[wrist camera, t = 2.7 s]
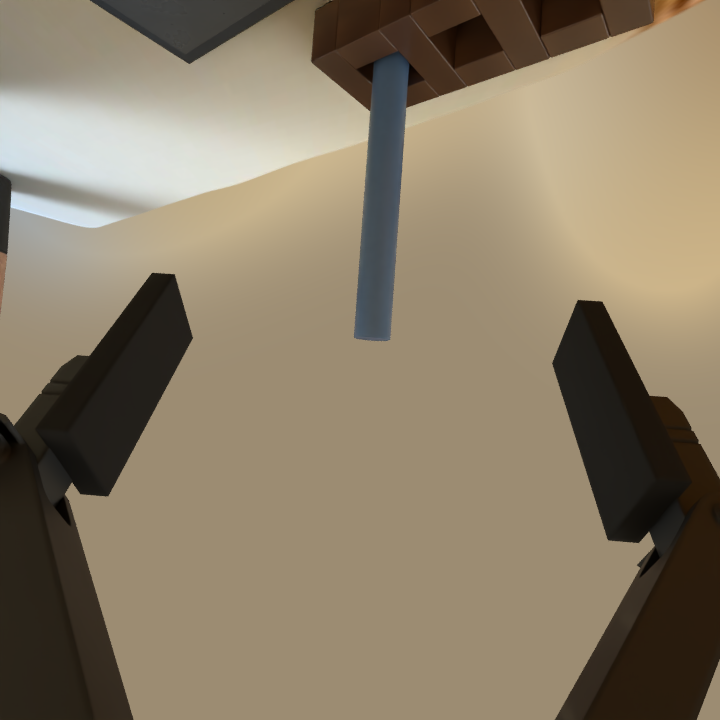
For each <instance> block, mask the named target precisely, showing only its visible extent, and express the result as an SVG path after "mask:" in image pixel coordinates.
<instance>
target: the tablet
mask: <svg viewBox="0 0 720 720" xmlns="http://www.w3.org/2000/svg"><path fill="white" fill-rule="evenodd" d="M90 1H92V2H93V3H95V4H96V5H98V6H99V7H101V8H102V9H104V10H106V11H107V12H109V13H110V14H112V15H113V16H115V17H117V18H118V19H120V20H121V21H123V22H124V23H126V24H127V25H129V26H131V27H132V28H134V29H135V30H137V31H138V32H140V33H142V34H143V35H145V36H146V37H148V38H149V39H151V40H152V41H154V42H156V43H157V44H159V45H160V46H162V47H163V48H165V49H167V50H168V51H170V52H171V53H173V54H174V55H176V56H177V57H179V58H181V59H182V60H184V61H185V62H187V63H188V64H190V63H192V62H193V61H195V60H197V59H198V58H200V57H202V56H203V55H205V54H207V53H208V52H210V51H212V50H213V49H215V48H217V47H218V46H220V45H221V44H223V43H225V42H226V41H228V40H230V39H231V38H233V37H235V36H236V35H238V34H240V33H241V32H243V31H244V30H246V29H248V28H249V27H251V26H253V25H254V24H256V23H258V22H259V21H261V20H263V19H264V18H266V17H268V16H269V15H271V14H272V13H274V12H276V11H277V10H279V9H281V8H282V7H284V6H286V5H287V4H289V3H291V2H292V1H294V0H90Z"/></svg>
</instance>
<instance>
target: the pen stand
mask: <svg viewBox="0 0 720 720" xmlns="http://www.w3.org/2000/svg"><path fill="white" fill-rule="evenodd" d="M654 6H655V0H333V1H331V2H330V3H328V4H326V5H324V6H323V7H321V8H319V9H317V10H316V11H315V20H314V33H313V46H312V58H311V62H312V63H313V64H314V65H315V66H316V67H318V68H319V69H320V70H321V71H322V72H324V73H325V74H326V75H327V76H328V77H330V78H331V79H332V80H333V81H334V82H336V83H337V84H338V85H339V86H340V87H342V88H343V89H344V90H345V91H346V92H348V93H349V94H350V95H351V96H352V97H354V98H355V99H356V100H357V101H358V102H360V103H361V104H362V105H363V106H364V107H366V108H367V109H368V110H369V111H370V109H371V95H372V82H373V68H374V61H376V60H378V59H381V58H383V57H385V56H388V55H390V54H392V53H394V52H397V51H399V52H400V53H401V54H402V55H403V56H404V57H405V59H406V60H407V61H408V62H409V74H408V89H407V103H406V108H407V107H410V106H413V105H416V104H418V103H421V102H424V101H427V100H430V99H433V98H436V97H439V96H441V95H444V94H447V93H450V92H453V91H456V90H459V89H462V88H465V87H467V86H471V85H473V84H476V83H479V82H482V81H485V80H488V79H491V78H494V77H497V76H500V75H503V74H506V73H508V72H511V71H514V70H515V69H516V70H517V69H520V68H523V67H526V66H529V65H532V64H535V63H538V62H541V61H544V60H546V59H549V58H550V57H555V56H557V55H560V54H563V53H566V52H569V51H572V50H575V49H578V48H581V47H584V46H587V45H590V44H592V43H595V42H598V41H601V40H604V39H607V38H609V37H610V36H611V37H613V36H616V35H619V34H622V33H625V32H628V31H631V30H633V29H636V28H639V27H642V26H645V25H648V24H651V23H653V21H654Z"/></svg>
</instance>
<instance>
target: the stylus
mask: <svg viewBox="0 0 720 720" xmlns="http://www.w3.org/2000/svg"><path fill="white" fill-rule="evenodd" d="M408 74H409V62H408V61H407V60H406V59H405V57H404V56H403V55H402V54H401V53H400V52H399V51H397V52H394V53H392V54H390V55H388V56H385V57H383V58H381V59H378V60H376V61H374V68H373V82H372V95H371V109H370V123H369V137H368V151H367V164H366V178H365V192H364V206H363V219H362V233H361V247H360V261H359V275H358V289H357V302H356V303H357V304H356V316H355V330H354V331H355V332H354V338H356V339H363V340H372V341H388V340H390V333H391V318H392V304H393V290H394V276H395V262H396V247H397V233H398V218H399V204H400V189H401V174H402V160H403V146H404V132H405V131H404V130H405V117H406V103H407V89H408Z"/></svg>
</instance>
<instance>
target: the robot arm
mask: <svg viewBox="0 0 720 720" xmlns="http://www.w3.org/2000/svg"><path fill="white" fill-rule="evenodd" d="M192 339H193V337H192V333H191V330H190V326H189V323H188V319H187V316H186V312H185V309H184V305H183V302H182V298H181V295H180V292H179V289H178V284H177V281H176V278H175V274H161V273H152V274H151V275H150V276H149V278H148V279H147V280H146V282H145V283H144V284H143V286H142V287H141V288H140V290H139V291H138V292H137V294H136V295H135V296H134V298H133V299H132V300H131V302H130V303H129V304H128V306H127V307H126V308H125V310H124V311H123V312H122V314H121V315H120V317H119V318H118V319H117V320H116V322H115V323H114V324H113V326H112V327H111V328H110V330H109V331H108V332H107V334H106V335H105V336H104V338H103V339H102V340H101V342H100V343H99V344H98V345H97V347H96V348H95V350H94V351H93V352H92V353H91V355H90V356H80V355H77V356H76V357H74V358H73V359H71V360H70V361H69V362H68V363H66V364H64V365H63V366H62V367H61V368H60V369H59V370H58V371H57V373H56V374H55V375H54V376H53V378H52V379H51V380H50V383H48V384H47V385H46V386H45V388H44V389H43V390H42V394H39V395H38V396H37V398H36V399H35V400H34V402H33V403H32V404H31V405H30V407H29V408H28V409H27V410H26V411H25V413H24V414H23V415H22V417H21V418H20V419H19V420H18V422H17V423H16V424H15V425H14V426H13V424H12V423H11V422H10V420H9V419H8V418H7V417H6V415H4V414H1V413H0V720H133V716H132V713H131V710H130V706H129V703H128V699H127V696H126V693H125V689H124V686H123V682H122V679H121V676H120V672H119V669H118V666H117V663H116V659H115V656H114V652H113V649H112V645H111V642H110V638H109V635H108V632H107V628H106V625H105V621H104V618H103V615H102V611H101V608H100V605H99V601H98V598H97V594H96V591H95V588H94V584H93V581H92V577H91V574H90V571H89V568H88V564H87V561H86V557H85V554H84V550H83V547H82V543H81V540H80V537H79V533H78V530H77V527H76V523H75V520H74V517H73V513H72V510H71V506H70V503H69V500H68V499H67V497H66V496H65V493H66V491H67V489H68V488H69V486H70V484H71V483H73V484H74V486H75V487H76V488H77V490H78V491H79V493H80V494H86V495H96V496H109V494H110V492H111V490H112V488H113V486H114V485H115V483H116V481H117V479H118V477H119V475H120V473H121V471H122V469H123V468H124V466H125V464H126V462H127V460H128V458H129V457H130V454H131V453H132V451H133V449H134V447H135V445H136V443H137V441H138V440H139V438H140V436H141V434H142V432H143V430H144V428H145V427H146V425H147V423H148V421H149V419H150V417H151V415H152V414H153V411H154V410H155V408H156V406H157V404H158V402H159V400H160V399H161V397H162V394H163V393H164V391H165V389H166V387H167V385H168V384H169V381H170V380H171V378H172V376H173V374H174V372H175V370H176V368H177V366H178V365H179V363H180V361H181V359H182V357H183V355H184V354H185V352H186V350H187V348H188V346H189V344H190V342H191V341H192ZM552 364H553V367H554V370H555V373H556V377H557V380H558V383H559V386H560V390H561V393H562V396H563V399H564V402H565V405H566V408H567V411H568V415H569V418H570V421H571V425H572V428H573V431H574V434H575V437H576V440H577V443H578V447H579V450H580V453H581V456H582V459H583V462H584V466H585V469H586V472H587V475H588V478H589V482H590V485H591V488H592V491H593V494H594V497H595V501H596V504H597V507H598V510H599V513H600V517H601V519H602V523H603V526H604V529H605V532H606V535H607V539H608V540H612V541H623V542H633V543H639V542H640V541H641V540H642V539H643V538H644V536H645V535H646V534H647V533H648V532H650V534H651V537H652V540H653V542H654V544H655V547H654V548H653V549H652V550H651V551H650V552H649V553H648V554H647V555H646V556H645V557H644V558H643V559H642V560H641V562H640V563H639V564H638V565H637V566H639V567H640V570H639V572H638V574H637V575H636V577H635V579H634V581H633V582H632V584H631V586H630V588H629V589H628V591H627V593H626V595H625V596H624V598H623V600H622V602H621V604H620V605H619V607H618V609H617V611H616V612H615V614H614V616H613V618H612V620H611V622H610V623H609V625H608V627H607V628H606V630H605V632H604V634H603V636H602V637H601V639H600V641H599V643H598V644H597V647H596V648H595V650H594V652H593V653H592V655H591V657H590V659H589V660H588V662H587V664H586V666H585V667H584V670H583V671H582V673H581V675H580V676H579V678H578V680H577V682H576V683H575V685H574V687H573V689H572V691H571V692H570V694H569V696H568V698H567V700H566V701H565V703H564V705H563V707H562V708H561V710H560V712H559V714H558V715H557V717H556V719H555V720H697V717H698V715H699V712H700V709H701V707H702V704H703V701H704V699H705V696H706V694H707V691H708V688H709V686H710V683H711V681H712V678H713V675H714V672H715V670H716V667H717V665H718V662H719V659H720V479H719V477H718V476H717V473H716V471H715V470H714V468H713V466H712V464H711V462H710V461H709V459H708V457H707V455H706V453H705V451H704V450H703V448H702V446H701V444H698V439H697V437H696V435H695V433H694V432H693V431H691V426H690V424H689V422H688V421H687V419H686V417H685V415H684V414H683V412H682V411H681V410H680V409H679V408H678V407H677V406H676V405H675V404H674V403H673V402H672V401H671V400H670V399H669V398H667V397H658V396H649V394H648V392H647V390H646V388H645V386H644V384H643V382H642V380H641V378H640V376H639V374H638V372H637V370H636V368H635V366H634V364H633V362H632V360H631V358H630V356H629V354H628V352H627V350H626V348H625V346H624V344H623V342H622V340H621V338H620V336H619V334H618V332H617V330H616V328H615V326H614V324H613V322H612V320H611V318H610V316H609V314H608V312H607V310H606V308H605V306H604V304H603V302H600V301H585V300H584V301H583V300H578V301H577V303H576V306H575V308H574V311H573V313H572V316H571V318H570V320H569V323H568V326H567V328H566V330H565V333H564V335H563V338H562V340H561V343H560V345H559V348H558V350H557V353H556V356H555V358H554V360H553V363H552Z"/></svg>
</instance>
